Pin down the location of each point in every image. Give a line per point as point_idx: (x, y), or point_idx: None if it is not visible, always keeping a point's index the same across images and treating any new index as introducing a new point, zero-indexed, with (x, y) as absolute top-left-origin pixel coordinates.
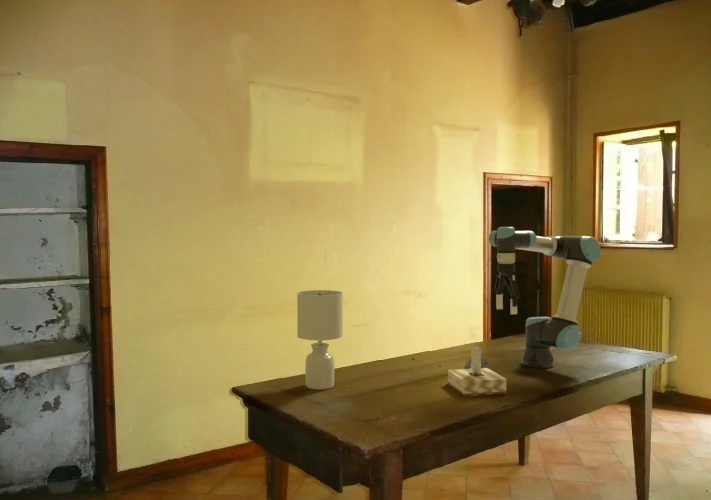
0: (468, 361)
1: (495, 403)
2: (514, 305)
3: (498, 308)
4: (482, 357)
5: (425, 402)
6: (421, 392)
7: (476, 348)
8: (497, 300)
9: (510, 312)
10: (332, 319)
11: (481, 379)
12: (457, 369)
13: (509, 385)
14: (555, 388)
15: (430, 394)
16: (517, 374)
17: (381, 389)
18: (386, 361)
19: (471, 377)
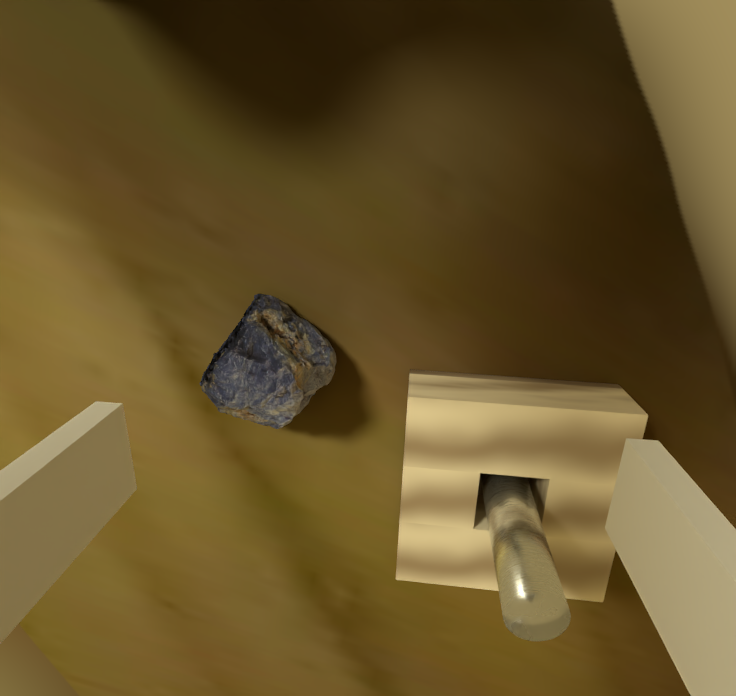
0: (227, 409)
1: (719, 488)
2: None
3: (127, 477)
4: (250, 360)
5: (599, 686)
6: (482, 654)
7: (559, 625)
8: (34, 597)
9: (615, 547)
10: None
11: (605, 524)
12: (398, 540)
13: (496, 298)
14: (630, 74)
15: (516, 639)
16: (308, 142)
17: None
18: None
19: (556, 548)
